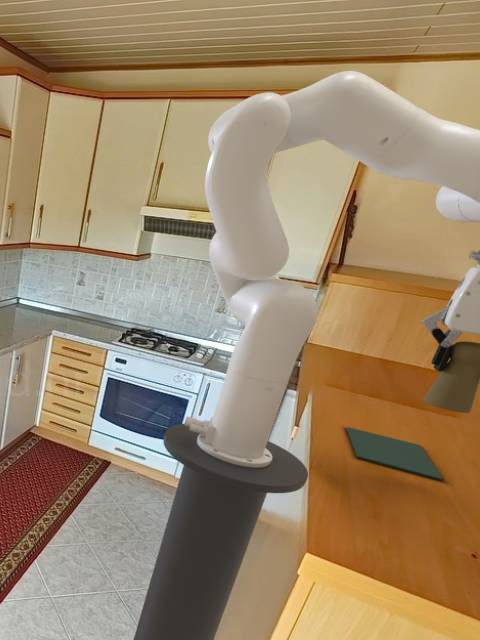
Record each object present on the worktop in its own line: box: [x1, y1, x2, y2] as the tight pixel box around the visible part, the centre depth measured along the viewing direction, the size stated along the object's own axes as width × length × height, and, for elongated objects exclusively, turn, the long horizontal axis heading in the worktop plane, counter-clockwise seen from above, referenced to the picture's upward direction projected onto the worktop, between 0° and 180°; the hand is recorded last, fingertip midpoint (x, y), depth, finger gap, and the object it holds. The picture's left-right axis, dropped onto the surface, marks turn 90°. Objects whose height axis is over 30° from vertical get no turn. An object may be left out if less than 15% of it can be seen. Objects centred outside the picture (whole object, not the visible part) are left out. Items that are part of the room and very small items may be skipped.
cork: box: [422, 340, 480, 414], centre depth 80 cm, size 6×6×11 cm
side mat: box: [345, 426, 444, 482], centre depth 101 cm, size 13×18×1 cm
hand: (461, 373), depth 80 cm, fingers closed on cork, 5 cm apart
